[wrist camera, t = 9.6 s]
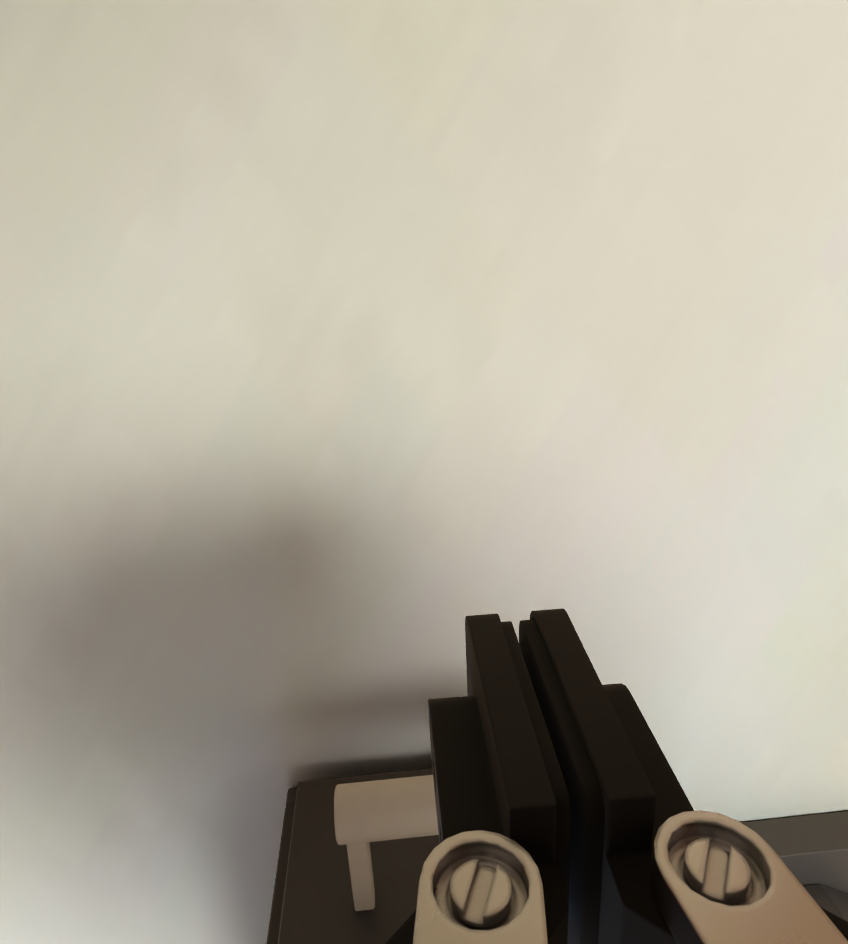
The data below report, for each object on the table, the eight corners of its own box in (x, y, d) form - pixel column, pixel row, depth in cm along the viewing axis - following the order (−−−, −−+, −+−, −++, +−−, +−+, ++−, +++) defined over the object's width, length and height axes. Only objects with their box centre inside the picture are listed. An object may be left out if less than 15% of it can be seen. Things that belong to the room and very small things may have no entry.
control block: (882, 806, 28) (950, 883, 25) (841, 964, 32) (896, 1049, 28) (676, 828, 28) (717, 909, 24) (657, 986, 31) (691, 1076, 28)
